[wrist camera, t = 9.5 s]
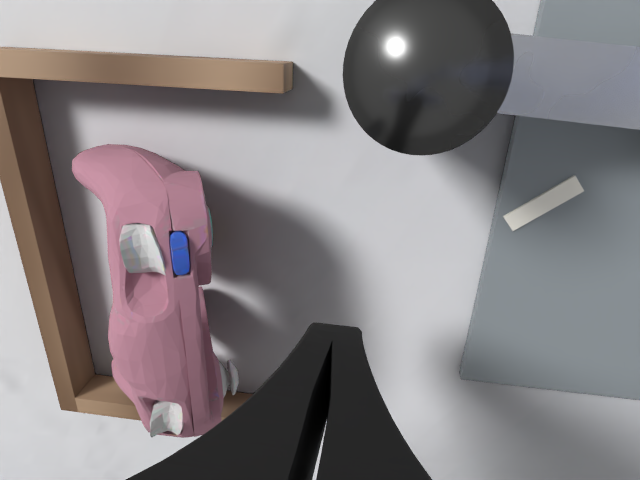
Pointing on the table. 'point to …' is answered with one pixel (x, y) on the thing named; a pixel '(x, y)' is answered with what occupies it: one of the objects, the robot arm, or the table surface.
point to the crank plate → (565, 241)
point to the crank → (475, 75)
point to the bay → (43, 207)
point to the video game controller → (159, 288)
